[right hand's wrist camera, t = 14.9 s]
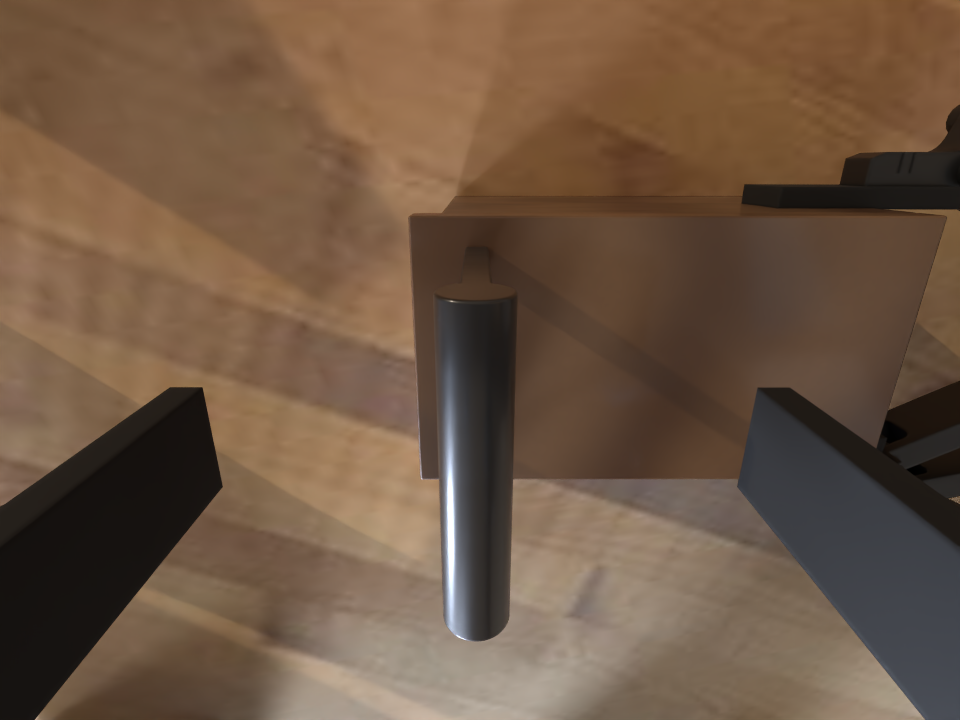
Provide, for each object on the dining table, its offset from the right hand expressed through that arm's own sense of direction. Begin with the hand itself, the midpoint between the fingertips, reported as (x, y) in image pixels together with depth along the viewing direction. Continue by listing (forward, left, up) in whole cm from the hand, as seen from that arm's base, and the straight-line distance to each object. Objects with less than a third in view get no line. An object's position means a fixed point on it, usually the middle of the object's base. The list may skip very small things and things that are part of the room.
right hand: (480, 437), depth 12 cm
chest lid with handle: (+4, -5, -6) cm, 9 cm away
